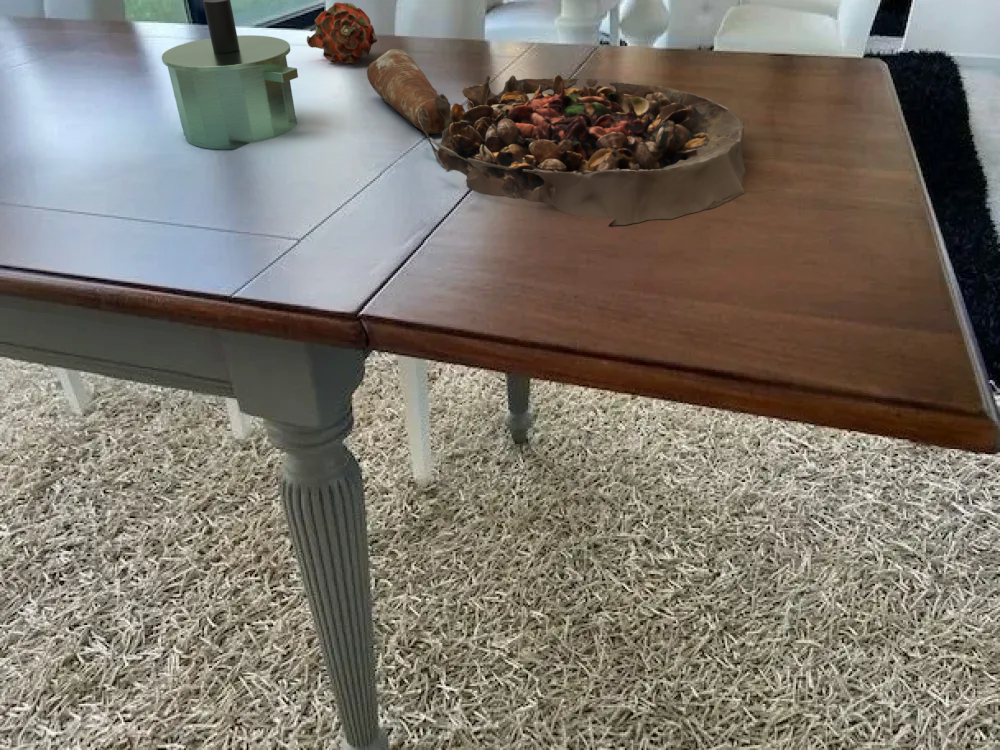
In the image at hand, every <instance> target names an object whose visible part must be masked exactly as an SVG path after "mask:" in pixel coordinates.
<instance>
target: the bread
mask: <svg viewBox="0 0 1000 750" xmlns="http://www.w3.org/2000/svg"><path fill="white" fill-rule="evenodd" d="M366 76H367V80H368V82H369V83H370V85H371V87H372V88H373V90H374V91H375V92H376V93H377V94H378V95H379V97H381V98H382V100H383V101H384V102H386V103H387V104H388V105H389V106H390V107H392V108H393V109H394V110H395V111H396V112H398V113H399V114H400V115H401V116H402V117H404V118H405V119H406V120H407V121H408V122H409V123H411V124H412V125H413V126H415V127H416V128H417V129H418V130H420V131H422V132H423V133H425V132H424V131H423V129H422V127H421V125H420V123H419V120H418V112H419V111H420V110H421V109H422V108H423V109H426V111H427V112H428V116H429V118H428V119H429V121H428V123H427V124H425V127H426V129H427V133H428V135H430V134H431V135H432V134H433V135H434V134H440V133H443V131H444V130H445V129H446V126H445V120H444V118H443V116H442V115H441V113H440V111H439V110H438V108H437V106H436V104H435V99H436V98H437V97H438V96H439V95H440V94H438V92H437V90H436V89H435V88H434V87H433V85H432V84H431V82H430V81H429V79H428V78H427V77H426V75H425V73H424V72H423V71H422V69H421V68H420V67H419V65H418V63H417V62H416V61H414V59H413V58H412V57H411V56H410V55H409V54H408V53H407V52H406V51H404V50H402V49H398V48H397V49H396V48H391V49H390V48H389V49H387V50H386V51H385V52H383V53H382V54H381V55H379V57H378V58H376V59H374V61H372V62H370V63H369V65H368V67H367V70H366Z"/></svg>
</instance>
